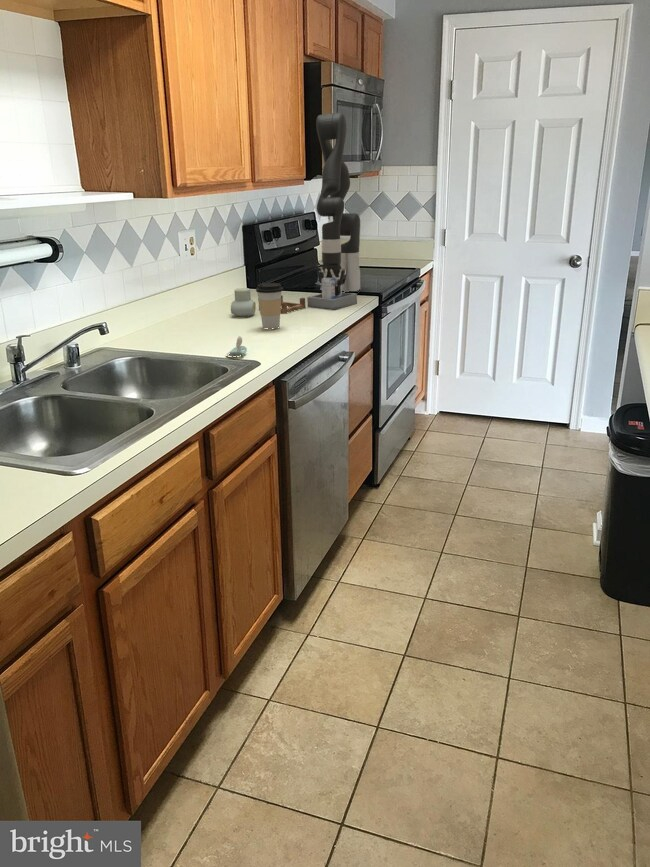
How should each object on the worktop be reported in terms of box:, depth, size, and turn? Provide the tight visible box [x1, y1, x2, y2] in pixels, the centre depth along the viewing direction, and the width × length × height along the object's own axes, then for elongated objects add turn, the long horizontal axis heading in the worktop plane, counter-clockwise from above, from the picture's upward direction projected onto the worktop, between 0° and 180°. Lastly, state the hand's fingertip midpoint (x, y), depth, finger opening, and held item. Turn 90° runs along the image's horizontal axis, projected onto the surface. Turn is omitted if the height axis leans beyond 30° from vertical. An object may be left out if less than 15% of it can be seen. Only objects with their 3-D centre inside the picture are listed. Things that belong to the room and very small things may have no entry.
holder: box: [258, 294, 306, 314], centre depth 281 cm, size 13×13×4 cm
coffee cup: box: [255, 282, 284, 330], centre depth 248 cm, size 9×9×15 cm
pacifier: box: [226, 335, 248, 356], centre depth 214 cm, size 7×6×6 cm
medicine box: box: [321, 277, 342, 299], centre depth 285 cm, size 8×4×9 cm, turn 143°
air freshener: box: [230, 287, 257, 318], centre depth 270 cm, size 11×8×10 cm
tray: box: [306, 292, 358, 311], centre depth 286 cm, size 16×13×4 cm
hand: (332, 294), depth 285 cm, fingers closed on medicine box, 4 cm apart
